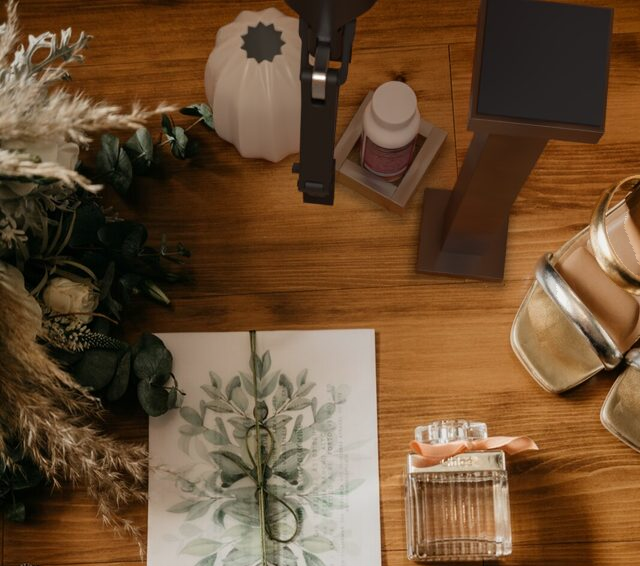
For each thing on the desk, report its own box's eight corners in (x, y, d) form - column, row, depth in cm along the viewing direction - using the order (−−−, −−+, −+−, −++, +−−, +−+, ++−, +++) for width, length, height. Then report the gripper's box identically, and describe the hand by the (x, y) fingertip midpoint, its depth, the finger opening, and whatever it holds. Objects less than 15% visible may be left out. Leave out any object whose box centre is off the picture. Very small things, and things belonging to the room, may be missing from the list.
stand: (444, 144, 85) (448, 132, 83) (401, 217, 84) (403, 207, 82) (368, 102, 86) (370, 89, 83) (324, 174, 85) (325, 163, 82)
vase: (319, 182, 85) (319, 114, 71) (203, 164, 85) (182, 93, 72) (337, 73, 86) (341, -13, 73) (223, 56, 86) (205, -34, 73)
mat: (609, 12, 54) (610, 9, 54) (599, 127, 53) (601, 125, 53) (487, -1, 54) (488, -4, 54) (476, 114, 53) (477, 111, 53)
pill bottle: (420, 171, 85) (435, 115, 74) (373, 193, 85) (381, 140, 74) (396, 126, 85) (407, 64, 74) (350, 147, 85) (354, 89, 74)
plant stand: (508, 201, 85) (614, 7, 54) (501, 283, 84) (605, 133, 53) (424, 192, 85) (482, -7, 54) (415, 273, 84) (470, 118, 53)
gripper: (295, -267, 45) (303, -5, 66) (243, 110, 42) (268, 256, 63) (415, -253, 45) (384, 4, 66) (369, 125, 42) (353, 266, 63)
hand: (327, 128), depth 65 cm, fingers open, 13 cm apart
